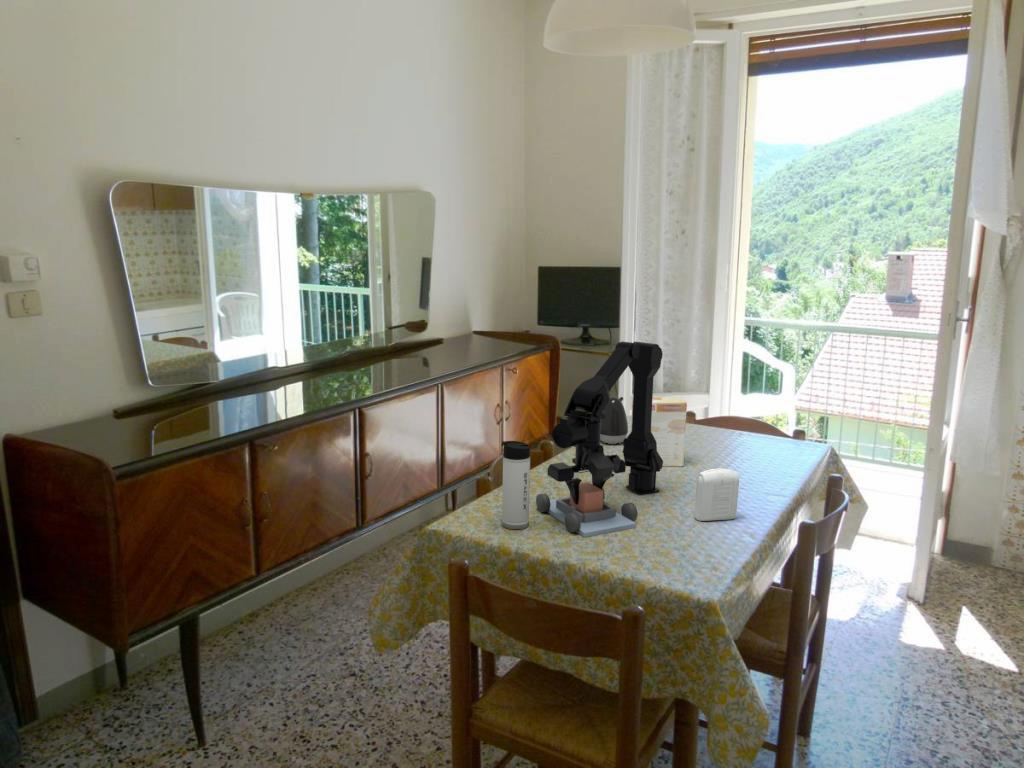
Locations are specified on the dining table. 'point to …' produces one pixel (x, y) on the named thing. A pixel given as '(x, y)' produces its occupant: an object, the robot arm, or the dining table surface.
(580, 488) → the salmon pink brick
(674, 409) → the coffeecake box
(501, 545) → the dining table surface
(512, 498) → the travel mug
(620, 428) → the dark grey tapered dome
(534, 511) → the dining table surface
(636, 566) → the dining table surface
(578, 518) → the chassis
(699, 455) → the dining table surface
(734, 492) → the photo printer
